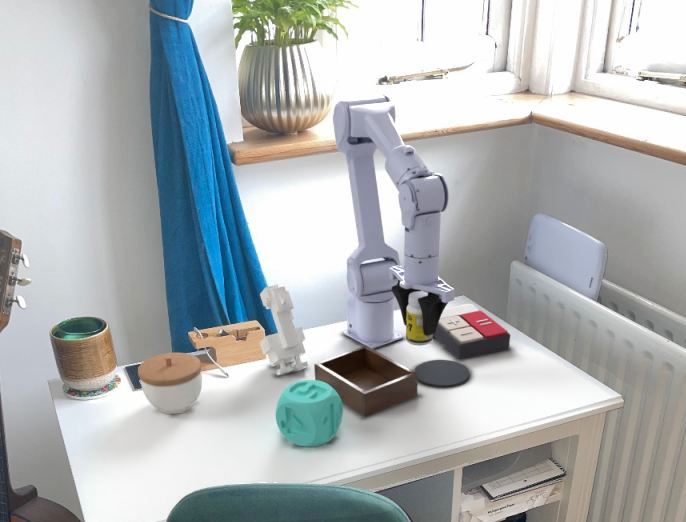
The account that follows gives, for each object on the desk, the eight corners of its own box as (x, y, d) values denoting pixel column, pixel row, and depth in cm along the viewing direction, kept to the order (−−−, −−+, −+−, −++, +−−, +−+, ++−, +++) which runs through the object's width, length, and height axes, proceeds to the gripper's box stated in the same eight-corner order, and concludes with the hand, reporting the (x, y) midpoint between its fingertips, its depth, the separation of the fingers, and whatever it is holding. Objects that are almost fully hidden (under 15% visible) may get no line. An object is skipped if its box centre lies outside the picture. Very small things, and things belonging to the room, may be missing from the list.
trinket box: (217, 396, 142) (211, 348, 137) (184, 425, 134) (177, 376, 129) (167, 386, 146) (159, 339, 141) (132, 414, 138) (123, 365, 133)
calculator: (460, 342, 148) (423, 309, 159) (458, 362, 151) (422, 329, 162) (512, 331, 151) (472, 299, 162) (509, 351, 154) (470, 319, 165)
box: (315, 385, 144) (314, 363, 142) (365, 366, 150) (365, 345, 147) (364, 417, 134) (364, 394, 132) (417, 395, 140) (417, 373, 137)
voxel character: (287, 366, 140) (261, 284, 140) (268, 380, 151) (244, 305, 151) (323, 356, 142) (297, 276, 142) (302, 371, 153) (278, 297, 153)
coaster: (402, 372, 147) (402, 370, 147) (443, 356, 152) (443, 354, 151) (439, 392, 140) (439, 390, 140) (481, 375, 145) (481, 373, 144)
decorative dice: (318, 452, 126) (316, 408, 121) (276, 439, 130) (272, 396, 125) (344, 428, 131) (342, 385, 127) (303, 417, 135) (300, 375, 131)
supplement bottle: (403, 335, 142) (404, 290, 138) (429, 333, 142) (431, 288, 138) (408, 347, 138) (409, 301, 134) (435, 345, 138) (437, 299, 134)
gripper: (375, 247, 135) (375, 321, 142) (432, 270, 125) (429, 349, 132) (407, 237, 138) (406, 311, 146) (465, 259, 128) (461, 337, 135)
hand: (419, 328), depth 139 cm, fingers closed on supplement bottle, 5 cm apart
